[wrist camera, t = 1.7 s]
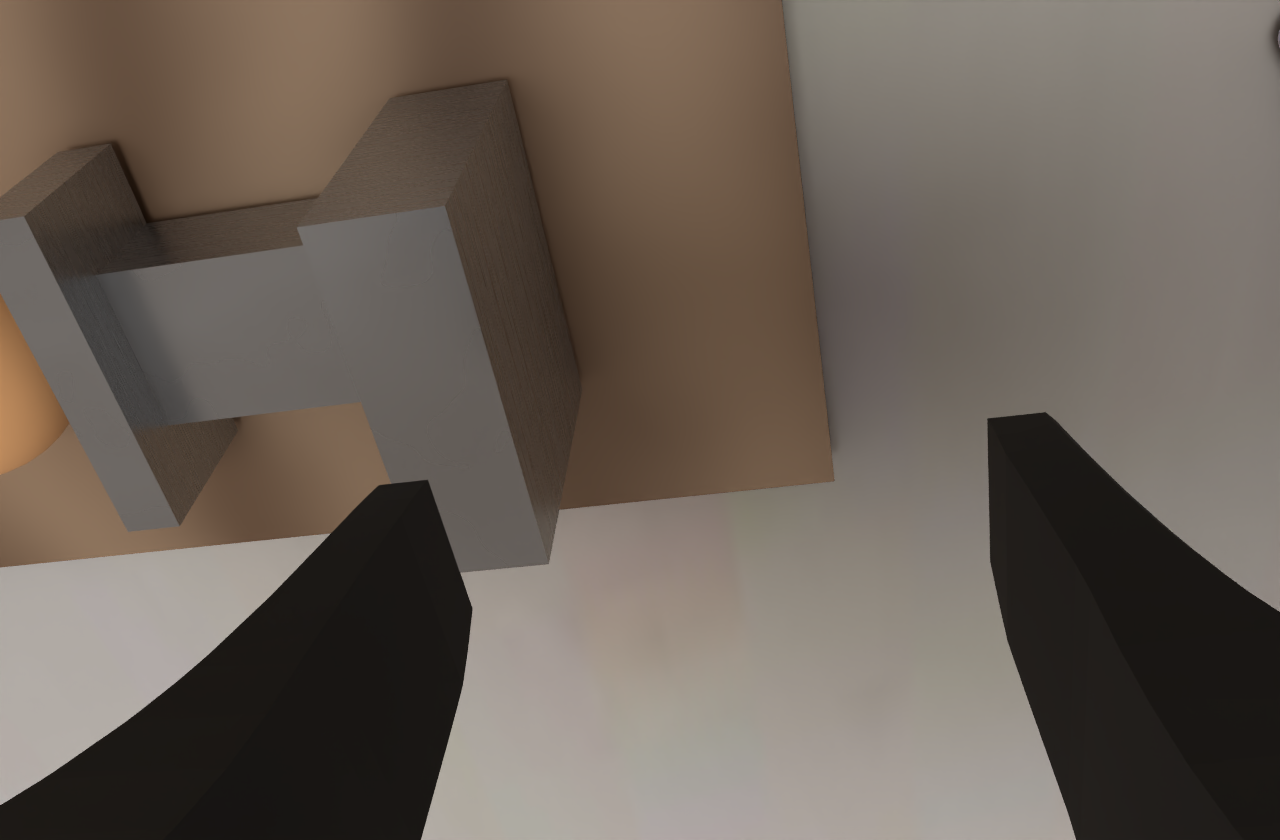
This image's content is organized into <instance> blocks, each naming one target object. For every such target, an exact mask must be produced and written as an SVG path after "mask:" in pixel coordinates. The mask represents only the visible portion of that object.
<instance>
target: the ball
mask: <svg viewBox="0 0 1280 840" xmlns="http://www.w3.org/2000/svg"><path fill="white" fill-rule="evenodd" d="M68 424H69V421H68V419H67V417H66V415H65V413H64V411H63V410H62V408H61V406H60V404H59V402H58V400H57V398H56V397H55V395H54V393H53V391H52V389H51V387H50V385H49V383H48V382H47V380H46V378H45V376H44V374H43V372H42V370H41V369H40V367H39V365H38V363H37V361H36V359H35V357H34V355H33V354H32V352H31V350H30V348H29V346H28V344H27V342H26V341H25V339H24V337H23V335H22V333H21V331H20V329H19V327H18V326H17V324H16V322H15V320H14V318H13V316H12V314H11V313H10V311H9V309H8V307H7V305H6V303H5V301H4V299H3V298H2V296H1V294H0V475H1V474H4V473H7V472H10V471H12V470H14V469H16V468H18V467H20V466H23V465H25V464H27V463H28V462H30V461H31V460H33V459H34V458H36V457H37V456H39V455H40V454H42V453H43V452H45V451H46V450H47V449H48V448H49V447H50V446H51V445H52V444H53V443H54V442H55V441H56V440H57V439H58V438H59V437H60V436H61V434H62V433H63V432H64V430H65V429H66V427H67V426H68Z"/></svg>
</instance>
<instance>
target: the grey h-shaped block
mask: <svg viewBox="0 0 1280 840" xmlns="http://www.w3.org/2000/svg"><path fill="white" fill-rule="evenodd" d="M0 294H1V296H2V298H3V299H4V301H5V303H6V305H7V307H8V309H9V311H10V313H11V314H12V316H13V318H14V320H15V322H16V324H17V326H18V327H19V329H20V331H21V333H22V335H23V337H24V339H25V341H26V342H27V344H28V346H29V348H30V350H31V352H32V354H33V355H34V357H35V359H36V361H37V363H38V365H39V367H40V369H41V370H42V372H43V374H44V376H45V378H46V380H47V382H48V383H49V385H50V387H51V389H52V391H53V393H54V395H55V397H56V398H57V400H58V402H59V404H60V406H61V408H62V410H63V411H64V413H65V415H66V417H67V419H68V421H69V423H70V425H71V426H72V428H73V430H74V432H75V434H76V436H77V438H78V440H79V441H80V443H81V445H82V447H83V449H84V451H85V453H86V454H87V456H88V458H89V460H90V462H91V464H92V466H93V468H94V469H95V471H96V473H97V475H98V477H99V479H100V481H101V482H102V484H103V486H104V488H105V490H106V492H107V494H108V496H109V497H110V499H111V501H112V503H113V505H114V507H115V509H116V510H117V512H118V514H119V516H120V518H121V520H122V522H123V524H124V525H125V527H126V529H127V531H128V532H132V531H141V530H150V529H160V528H169V527H179V526H180V525H181V523H182V522H183V520H184V519H185V517H186V515H187V514H188V512H189V510H190V509H191V507H192V505H193V504H194V502H195V500H196V499H197V497H198V496H199V494H200V492H201V491H202V489H203V487H204V486H205V484H206V482H207V481H208V479H209V478H210V476H211V474H212V473H213V471H214V469H215V468H216V466H217V464H218V463H219V461H220V460H221V458H222V456H223V455H224V453H225V451H226V450H227V448H228V446H229V445H230V443H231V442H232V440H233V438H234V437H235V435H236V433H237V432H238V429H237V427H236V424H235V422H234V420H233V417H241V416H250V415H258V414H266V413H275V412H283V411H291V410H299V409H308V408H316V407H324V406H333V405H341V404H349V403H357V402H361V404H362V406H363V409H364V412H365V414H366V417H367V420H368V423H369V425H370V428H371V431H372V434H373V436H374V439H375V442H376V444H377V447H378V450H379V453H380V455H381V458H382V461H383V463H384V466H385V469H386V472H387V474H388V477H389V480H390V482H391V484H393V483H402V482H411V481H420V480H428V481H429V484H430V487H431V490H432V493H433V496H434V499H435V502H436V504H437V507H438V510H439V513H440V516H441V519H442V522H443V525H444V528H445V531H446V533H447V536H448V539H449V542H450V545H451V548H452V551H453V554H454V557H455V559H456V562H457V565H458V568H459V571H460V572H471V571H481V570H491V569H502V568H512V567H523V566H533V565H543V564H549V560H550V555H551V550H552V544H553V539H554V534H555V529H556V524H557V518H558V513H559V508H560V503H561V498H562V493H563V487H564V482H565V477H566V472H567V467H568V462H569V456H570V451H571V446H572V441H573V436H574V431H575V425H576V420H577V415H578V410H579V405H580V400H581V394H582V386H581V382H580V378H579V374H578V369H577V365H576V361H575V357H574V353H573V349H572V345H571V341H570V337H569V333H568V328H567V324H566V320H565V316H564V312H563V308H562V304H561V300H560V296H559V291H558V287H557V283H556V279H555V275H554V271H553V267H552V263H551V259H550V254H549V250H548V246H547V242H546V238H545V234H544V230H543V226H542V222H541V217H540V213H539V209H538V205H537V201H536V197H535V193H534V189H533V185H532V180H531V176H530V172H529V168H528V164H527V160H526V156H525V152H524V148H523V143H522V139H521V135H520V131H519V127H518V123H517V119H516V115H515V111H514V106H513V102H512V98H511V94H510V90H509V86H508V82H507V80H501V81H495V82H488V83H482V84H476V85H470V86H464V87H457V88H451V89H445V90H439V91H433V92H426V93H420V94H414V95H408V96H401V97H395V98H389V100H388V101H387V102H386V104H385V105H384V107H383V108H382V109H381V111H380V112H379V114H378V115H377V116H376V118H375V119H374V121H373V122H372V123H371V125H370V126H369V128H368V129H367V130H366V132H365V133H364V134H363V136H362V137H361V139H360V140H359V141H358V143H357V144H356V146H355V147H354V148H353V150H352V151H351V153H350V154H349V155H348V157H347V158H346V160H345V161H344V162H343V164H342V165H341V166H340V168H339V169H338V171H337V172H336V173H335V175H334V176H333V178H332V179H331V180H330V182H329V183H328V185H327V186H326V187H325V189H324V190H323V192H322V193H321V194H320V196H319V197H318V198H314V199H307V200H301V201H294V202H287V203H280V204H274V205H267V206H260V207H254V208H247V209H240V210H234V211H227V212H220V213H213V214H207V215H200V216H193V217H187V218H180V219H173V220H166V221H160V222H153V223H146V221H145V219H144V217H143V214H142V212H141V210H140V208H139V205H138V203H137V201H136V199H135V196H134V194H133V192H132V190H131V187H130V185H129V183H128V180H127V178H126V176H125V174H124V171H123V169H122V167H121V165H120V162H119V160H118V158H117V156H116V153H115V151H114V149H113V147H112V144H111V143H110V144H104V145H97V146H91V147H85V148H79V149H73V150H66V151H60V152H57V153H56V154H54V155H53V156H52V157H51V158H49V159H48V160H47V161H46V162H44V163H43V164H42V165H40V166H39V167H38V168H37V169H35V170H34V171H33V172H32V173H30V174H29V175H28V176H26V177H25V178H24V179H23V180H21V181H20V182H19V183H18V184H16V185H15V186H14V187H12V188H11V189H10V190H9V191H7V192H6V193H5V194H4V195H2V196H1V197H0Z"/></svg>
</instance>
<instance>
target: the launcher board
mask: <svg viewBox="0 0 1280 840" xmlns="http://www.w3.org/2000/svg"><path fill="white" fill-rule="evenodd" d="M501 80H507V82H508V86H509V90H510V94H511V98H512V102H513V106H514V111H515V115H516V119H517V123H518V127H519V131H520V135H521V139H522V143H523V148H524V152H525V156H526V160H527V164H528V168H529V172H530V176H531V180H532V185H533V189H534V193H535V197H536V201H537V205H538V209H539V213H540V217H541V222H542V226H543V230H544V234H545V238H546V242H547V246H548V250H549V254H550V259H551V263H552V267H553V271H554V275H555V279H556V283H557V287H558V291H559V296H560V300H561V304H562V308H563V312H564V316H565V320H566V324H567V328H568V333H569V337H570V341H571V345H572V349H573V353H574V357H575V361H576V365H577V369H578V374H579V378H580V382H581V386H582V394H581V400H580V405H579V410H578V415H577V420H576V425H575V431H574V436H573V441H572V446H571V451H570V456H569V462H568V467H567V472H566V477H565V482H564V487H563V493H562V498H561V503H560V508H559V510H560V509H570V508H580V507H589V506H599V505H609V504H618V503H628V502H638V501H647V500H657V499H667V498H676V497H686V496H696V495H705V494H715V493H725V492H734V491H744V490H754V489H764V488H773V487H783V486H793V485H802V484H812V483H822V482H831V481H834V472H833V463H832V454H831V445H830V435H829V426H828V417H827V408H826V399H825V390H824V381H823V372H822V363H821V354H820V345H819V335H818V326H817V317H816V308H815V299H814V290H813V281H812V272H811V263H810V254H809V245H808V236H807V226H806V217H805V208H804V199H803V190H802V181H801V172H800V163H799V154H798V145H797V136H796V126H795V117H794V108H793V99H792V90H791V81H790V72H789V63H788V54H787V45H786V36H785V27H784V17H783V8H782V0H0V197H1V196H2V195H4V194H5V193H6V192H7V191H9V190H10V189H11V188H12V187H14V186H15V185H16V184H18V183H19V182H20V181H21V180H23V179H24V178H25V177H26V176H28V175H29V174H30V173H32V172H33V171H34V170H35V169H37V168H38V167H39V166H40V165H42V164H43V163H44V162H46V161H47V160H48V159H49V158H51V157H52V156H53V155H54V154H56V153H57V152H60V151H66V150H73V149H79V148H85V147H91V146H97V145H104V144H110V143H111V144H112V147H113V149H114V151H115V153H116V156H117V158H118V160H119V162H120V165H121V167H122V169H123V171H124V174H125V176H126V178H127V180H128V183H129V185H130V187H131V190H132V192H133V194H134V196H135V199H136V201H137V203H138V205H139V208H140V210H141V212H142V214H143V217H144V219H145V221H146V223H153V222H160V221H166V220H173V219H180V218H187V217H193V216H200V215H207V214H213V213H220V212H227V211H234V210H240V209H247V208H254V207H260V206H267V205H274V204H280V203H287V202H294V201H301V200H307V199H314V198H318V197H319V196H320V194H321V193H322V192H323V190H324V189H325V187H326V186H327V185H328V183H329V182H330V180H331V179H332V178H333V176H334V175H335V173H336V172H337V171H338V169H339V168H340V166H341V165H342V164H343V162H344V161H345V160H346V158H347V157H348V155H349V154H350V153H351V151H352V150H353V148H354V147H355V146H356V144H357V143H358V141H359V140H360V139H361V137H362V136H363V134H364V133H365V132H366V130H367V129H368V128H369V126H370V125H371V123H372V122H373V121H374V119H375V118H376V116H377V115H378V114H379V112H380V111H381V109H382V108H383V107H384V105H385V104H386V102H387V101H388V100H389V98H395V97H401V96H408V95H414V94H420V93H426V92H433V91H439V90H445V89H451V88H457V87H464V86H470V85H476V84H482V83H488V82H495V81H501ZM233 420H234V422H235V424H236V427H237V429H238V432H237V433H236V435H235V437H234V438H233V440H232V442H231V443H230V445H229V446H228V448H227V450H226V451H225V453H224V455H223V456H222V458H221V460H220V461H219V463H218V464H217V466H216V468H215V469H214V471H213V473H212V474H211V476H210V478H209V479H208V481H207V482H206V484H205V486H204V487H203V489H202V491H201V492H200V494H199V496H198V497H197V499H196V500H195V502H194V504H193V505H192V507H191V509H190V510H189V512H188V514H187V515H186V517H185V519H184V520H183V522H182V523H181V525H180V526H179V527H169V528H160V529H150V530H141V531H132V532H128V531H127V529H126V527H125V525H124V524H123V522H122V520H121V518H120V516H119V514H118V512H117V510H116V509H115V507H114V505H113V503H112V501H111V499H110V497H109V496H108V494H107V492H106V490H105V488H104V486H103V484H102V482H101V481H100V479H99V477H98V475H97V473H96V471H95V469H94V468H93V466H92V464H91V462H90V460H89V458H88V456H87V454H86V453H85V451H84V449H83V447H82V445H81V443H80V441H79V440H78V438H77V436H76V434H75V432H74V430H73V428H72V426H71V425H70V423H69V424H68V426H67V427H66V429H65V430H64V432H63V433H62V434H61V436H60V437H59V438H58V439H57V440H56V441H55V442H54V443H53V444H52V445H51V446H50V447H49V448H48V449H47V450H46V451H45V452H43V453H42V454H40V455H39V456H37V457H36V458H34V459H33V460H31V461H30V462H28V463H27V464H25V465H23V466H20V467H18V468H16V469H14V470H12V471H10V472H7V473H4V474H1V475H0V567H8V566H18V565H27V564H37V563H47V562H57V561H66V560H76V559H86V558H95V557H105V556H115V555H124V554H134V553H144V552H153V551H163V550H173V549H182V548H192V547H202V546H211V545H221V544H231V543H241V542H250V541H260V540H270V539H279V538H289V537H299V536H308V535H318V534H328V533H332V532H333V531H334V530H335V529H336V528H337V527H338V526H339V524H340V523H341V522H342V521H343V520H344V519H345V518H346V517H347V516H348V515H349V514H350V513H351V512H352V511H353V510H354V509H355V508H356V507H357V506H358V505H359V504H360V503H361V502H362V501H363V500H364V499H365V498H366V497H367V496H368V495H369V494H370V493H371V492H372V491H373V490H374V489H375V488H376V487H377V486H378V485H384V484H391V482H390V480H389V477H388V474H387V472H386V469H385V466H384V463H383V461H382V458H381V455H380V453H379V450H378V447H377V444H376V442H375V439H374V436H373V434H372V431H371V428H370V425H369V423H368V420H367V417H366V414H365V412H364V409H363V406H362V404H361V402H357V403H349V404H341V405H333V406H324V407H316V408H308V409H299V410H291V411H283V412H275V413H266V414H258V415H250V416H241V417H233Z"/></svg>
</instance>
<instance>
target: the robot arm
mask: <svg viewBox="0 0 1280 840" xmlns="http://www.w3.org/2000/svg"><path fill="white" fill-rule="evenodd" d="M1278 42H1279V47H1280V31H1279V35H1278ZM987 420H988V469H989V517H990V562H991V567H992V571H993V576H994V581H995V586H996V590H997V595H998V600H999V605H1000V609H1001V614H1002V618H1003V623H1004V627H1005V632H1006V636H1007V640H1008V643H1009V646H1010V649H1011V652H1012V655H1013V658H1014V661H1015V664H1016V667H1017V670H1018V672H1019V675H1020V678H1021V681H1022V684H1023V687H1024V690H1025V692H1026V695H1027V698H1028V701H1029V704H1030V707H1031V710H1032V712H1033V715H1034V718H1035V721H1036V724H1037V726H1038V729H1039V732H1040V735H1041V738H1042V741H1043V743H1044V746H1045V749H1046V752H1047V755H1048V757H1049V760H1050V763H1051V766H1052V769H1053V772H1054V774H1055V777H1056V780H1057V783H1058V786H1059V788H1060V791H1061V794H1062V797H1063V800H1064V803H1065V805H1066V808H1067V811H1068V814H1069V817H1070V821H1071V824H1072V827H1073V830H1074V834H1075V837H1076V840H1280V612H1279V611H1277V610H1276V609H1274V608H1273V607H1271V606H1270V605H1268V604H1267V603H1265V602H1264V601H1262V600H1261V599H1259V598H1257V597H1256V596H1254V595H1253V594H1251V593H1250V592H1248V591H1247V590H1246V589H1244V588H1243V587H1241V586H1240V585H1239V584H1237V583H1236V582H1235V581H1233V580H1232V579H1231V578H1229V577H1228V576H1227V575H1225V574H1224V573H1223V572H1221V571H1220V570H1219V569H1217V568H1216V567H1215V566H1214V565H1212V564H1211V563H1210V562H1209V561H1207V560H1206V559H1205V558H1203V557H1202V556H1201V555H1200V554H1198V553H1197V552H1196V551H1194V550H1193V549H1192V548H1191V547H1189V546H1188V545H1187V544H1186V543H1185V542H1183V541H1182V540H1181V539H1180V538H1179V537H1177V536H1176V535H1175V534H1174V533H1173V532H1171V531H1170V530H1169V529H1168V528H1167V527H1166V526H1165V525H1163V524H1162V523H1161V522H1160V521H1159V520H1158V519H1157V518H1155V517H1154V516H1153V515H1152V514H1151V513H1150V512H1149V511H1148V510H1146V509H1145V508H1144V507H1143V506H1142V505H1141V504H1140V503H1139V502H1137V501H1136V500H1135V499H1134V498H1133V497H1132V496H1131V495H1130V494H1129V493H1128V492H1126V491H1125V490H1124V489H1123V488H1122V487H1121V486H1120V485H1119V484H1118V483H1117V482H1116V481H1115V480H1114V479H1113V478H1112V477H1111V476H1110V475H1109V474H1108V473H1107V472H1106V471H1105V470H1104V469H1102V468H1101V467H1100V466H1099V465H1098V464H1097V463H1096V462H1095V461H1094V460H1093V459H1092V458H1091V457H1090V456H1089V455H1088V454H1087V453H1086V452H1085V451H1084V450H1083V449H1082V448H1081V446H1080V445H1079V444H1078V443H1077V442H1076V441H1075V440H1074V439H1073V438H1072V437H1071V436H1070V435H1069V434H1068V433H1067V432H1066V431H1065V430H1064V429H1063V428H1062V427H1061V426H1060V425H1059V423H1058V422H1057V421H1056V420H1054V419H1053V418H1052V417H1051V416H1049V415H1048V414H1047V413H1046V412H1044V413H1035V414H1026V415H1016V416H1007V417H998V418H989V419H987ZM471 617H472V606H471V603H470V600H469V597H468V594H467V591H466V588H465V586H464V583H463V580H462V577H461V574H460V571H459V568H458V565H457V562H456V559H455V557H454V554H453V551H452V548H451V545H450V542H449V539H448V536H447V533H446V531H445V528H444V525H443V522H442V519H441V516H440V513H439V510H438V507H437V504H436V502H435V499H434V496H433V493H432V490H431V487H430V484H429V481H428V480H420V481H411V482H402V483H393V484H384V485H378V486H377V487H376V488H375V489H374V490H373V491H372V492H371V493H370V494H369V495H368V496H367V497H366V498H365V499H364V500H363V501H362V502H361V503H360V504H359V505H358V506H357V507H356V508H355V509H354V510H353V511H352V512H351V513H350V514H349V515H348V516H347V517H346V518H345V519H344V520H343V521H342V522H341V523H340V524H339V526H338V527H337V528H336V529H335V530H334V531H333V532H332V533H331V534H330V535H329V536H328V537H327V538H326V539H325V540H324V541H323V542H322V543H321V545H320V546H319V547H318V548H317V549H316V550H315V551H314V552H313V553H312V554H311V555H310V556H309V557H308V558H307V559H306V560H305V561H304V562H303V563H302V564H301V565H300V566H299V567H298V568H297V569H296V570H295V571H294V573H293V574H292V575H291V576H290V577H289V578H288V579H287V580H286V581H285V582H284V583H283V584H282V585H281V586H280V587H279V588H278V589H277V590H276V591H275V592H274V593H273V594H272V595H271V596H270V597H269V598H268V599H267V600H266V601H265V602H264V603H263V604H262V605H261V606H260V607H259V608H257V609H256V610H255V611H254V612H253V613H252V614H251V615H250V616H249V617H248V618H247V619H246V620H245V621H244V622H243V623H242V624H241V625H239V626H238V627H237V628H236V629H235V630H234V631H233V632H232V633H231V634H230V635H229V636H228V637H227V638H226V639H225V640H224V641H223V642H221V643H220V644H219V645H218V646H217V647H216V648H215V649H214V650H213V651H212V652H211V653H210V654H209V655H208V656H206V657H205V658H204V659H203V660H202V661H201V662H200V663H198V664H197V665H196V666H195V667H194V668H193V669H191V670H190V671H189V672H188V673H187V674H185V675H184V676H183V677H182V678H181V679H180V680H178V681H177V682H176V683H175V684H174V685H172V686H171V687H170V688H168V689H167V690H166V691H165V692H163V693H162V694H161V695H160V696H158V697H157V698H156V699H155V700H153V701H152V702H151V703H150V704H148V705H147V706H146V707H145V708H143V709H142V710H141V711H140V712H138V713H137V714H136V715H134V716H133V717H132V718H130V719H129V720H128V721H126V722H125V723H124V724H122V725H121V726H119V727H118V728H116V729H115V730H114V731H112V732H111V733H109V734H108V735H106V736H105V737H103V738H102V739H101V740H99V741H98V742H96V743H95V744H93V745H92V746H90V747H89V748H88V749H86V750H85V751H83V752H82V753H80V754H79V755H78V756H76V757H75V758H73V759H72V760H70V761H69V762H67V763H66V764H65V765H63V766H62V767H60V768H59V769H57V770H56V771H54V772H53V773H51V774H50V775H48V776H47V777H45V778H44V779H42V780H41V781H39V782H37V783H36V784H34V785H33V786H31V787H29V788H28V789H26V790H24V791H23V792H21V793H20V794H18V795H16V796H15V797H13V798H12V799H10V800H8V801H7V802H5V803H3V804H2V805H0V840H421V837H422V834H423V830H424V826H425V823H426V819H427V816H428V812H429V808H430V805H431V801H432V797H433V794H434V790H435V787H436V783H437V779H438V776H439V772H440V769H441V765H442V761H443V758H444V754H445V751H446V747H447V743H448V740H449V736H450V732H451V728H452V725H453V721H454V717H455V713H456V710H457V706H458V702H459V698H460V694H461V690H462V686H463V680H464V673H465V666H466V659H467V652H468V644H469V635H470V626H471Z"/></svg>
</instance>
